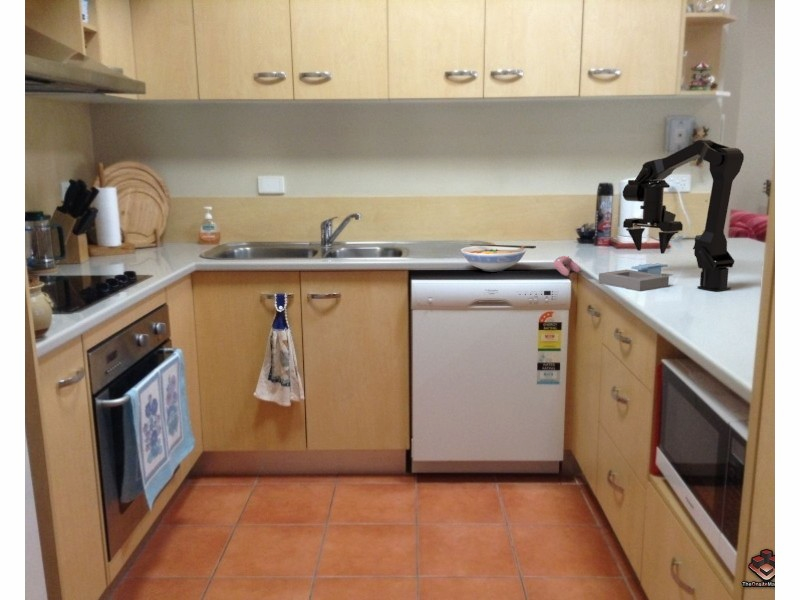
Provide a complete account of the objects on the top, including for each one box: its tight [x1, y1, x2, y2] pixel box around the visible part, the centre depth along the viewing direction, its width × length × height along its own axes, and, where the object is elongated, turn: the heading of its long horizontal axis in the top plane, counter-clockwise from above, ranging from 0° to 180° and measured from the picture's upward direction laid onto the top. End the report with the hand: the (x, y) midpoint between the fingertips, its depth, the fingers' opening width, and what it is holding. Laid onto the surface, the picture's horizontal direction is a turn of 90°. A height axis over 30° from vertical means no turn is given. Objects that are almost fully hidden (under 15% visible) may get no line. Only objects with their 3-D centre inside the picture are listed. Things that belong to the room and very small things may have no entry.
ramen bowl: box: [460, 243, 537, 273], centre depth 232 cm, size 25×23×8 cm
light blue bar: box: [630, 262, 668, 275], centre depth 212 cm, size 4×12×4 cm, turn 119°
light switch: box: [598, 269, 670, 292], centre depth 200 cm, size 16×12×3 cm
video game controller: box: [553, 255, 581, 277], centre depth 222 cm, size 10×5×7 cm, turn 141°
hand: (650, 251), depth 210 cm, fingers open, 9 cm apart
